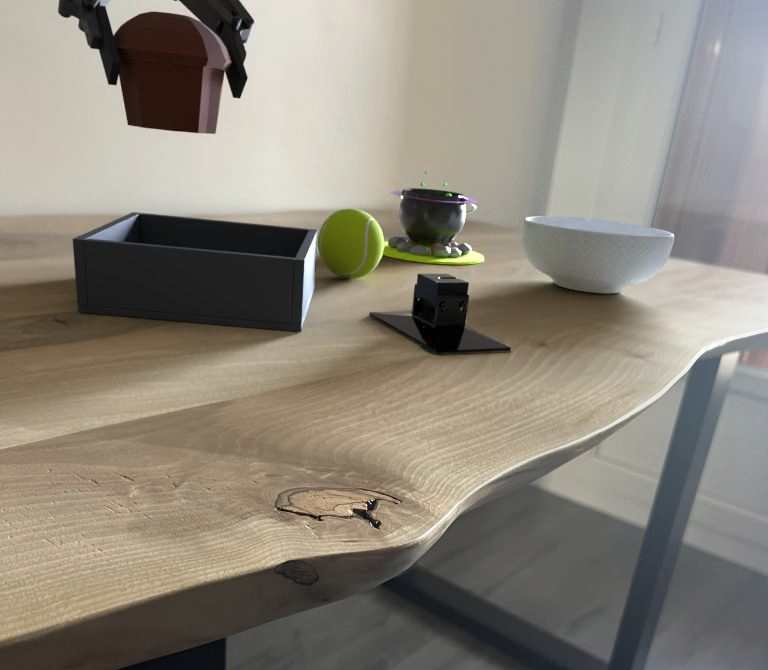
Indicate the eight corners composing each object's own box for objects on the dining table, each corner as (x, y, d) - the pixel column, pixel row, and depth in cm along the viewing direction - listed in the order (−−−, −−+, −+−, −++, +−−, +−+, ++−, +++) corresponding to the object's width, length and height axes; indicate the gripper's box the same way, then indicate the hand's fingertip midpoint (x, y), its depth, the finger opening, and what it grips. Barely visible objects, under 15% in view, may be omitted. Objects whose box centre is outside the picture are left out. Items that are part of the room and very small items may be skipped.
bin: (77, 312, 64) (72, 238, 62) (135, 272, 80) (132, 211, 78) (301, 332, 65) (304, 260, 63) (314, 288, 81) (317, 229, 78)
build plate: (511, 353, 66) (521, 295, 64) (433, 356, 63) (441, 296, 61) (436, 314, 76) (442, 262, 74) (365, 315, 72) (369, 262, 70)
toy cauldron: (499, 256, 111) (512, 169, 107) (460, 269, 99) (473, 171, 94) (399, 239, 117) (407, 156, 112) (351, 250, 104) (358, 157, 99)
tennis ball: (306, 278, 85) (309, 207, 82) (329, 268, 91) (333, 202, 88) (369, 287, 84) (375, 216, 81) (388, 277, 90) (394, 210, 87)
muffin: (231, 132, 89) (233, 26, 84) (231, 137, 79) (233, 17, 75) (117, 121, 86) (113, 11, 82) (103, 124, 77) (97, 0, 72)
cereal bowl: (647, 282, 103) (660, 224, 100) (672, 310, 88) (689, 242, 85) (513, 267, 104) (522, 208, 101) (516, 291, 89) (527, 223, 86)
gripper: (229, -38, 93) (280, 120, 88) (-1, -82, 81) (45, 98, 76) (248, -101, 86) (305, 65, 82) (2, -160, 74) (52, 31, 70)
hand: (180, 81), depth 79 cm, fingers closed on muffin, 12 cm apart
